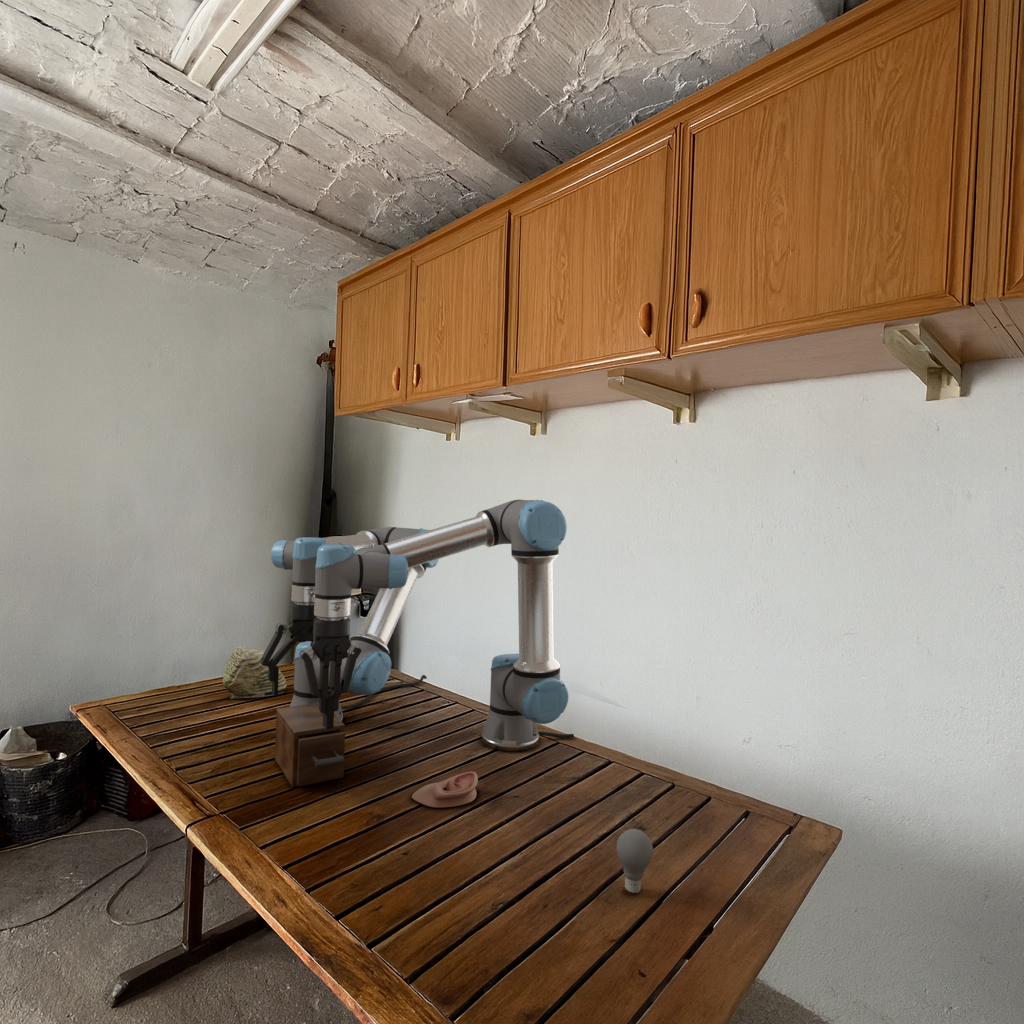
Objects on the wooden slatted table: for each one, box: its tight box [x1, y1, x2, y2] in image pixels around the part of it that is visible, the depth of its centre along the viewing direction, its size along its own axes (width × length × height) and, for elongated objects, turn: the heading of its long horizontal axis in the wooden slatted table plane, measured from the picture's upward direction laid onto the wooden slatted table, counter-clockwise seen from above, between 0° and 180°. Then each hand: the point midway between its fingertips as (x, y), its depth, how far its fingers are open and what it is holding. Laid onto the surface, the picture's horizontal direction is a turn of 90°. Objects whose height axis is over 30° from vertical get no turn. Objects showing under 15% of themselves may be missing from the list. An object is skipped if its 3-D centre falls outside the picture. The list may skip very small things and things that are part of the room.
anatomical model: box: [411, 771, 479, 809], centre depth 136 cm, size 13×4×12 cm
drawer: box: [296, 731, 346, 788], centre depth 142 cm, size 22×10×10 cm, turn 33°
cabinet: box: [274, 703, 345, 788], centre depth 148 cm, size 17×11×12 cm, turn 33°
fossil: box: [222, 646, 288, 699], centre depth 198 cm, size 9×18×15 cm, turn 132°
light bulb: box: [615, 828, 654, 894], centre depth 106 cm, size 6×6×10 cm
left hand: (304, 690), depth 151 cm, fingers open, 13 cm apart
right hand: (328, 726), depth 135 cm, fingers closed
